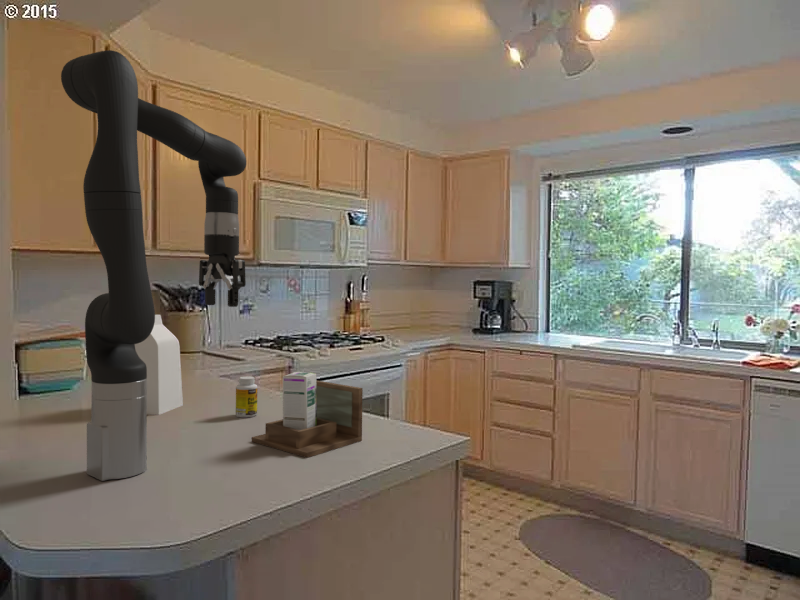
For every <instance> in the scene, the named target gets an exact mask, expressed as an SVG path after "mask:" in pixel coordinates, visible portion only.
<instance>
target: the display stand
mask: <svg viewBox="0 0 800 600" xmlns="http://www.w3.org/2000/svg"><path fill="white" fill-rule="evenodd" d="M363 393H364V392H363V387H358V386H353V385H346V384H340V383H333V382H328V381H322V380H317V379H316V394H317V426H314V427H310V428H306V429H303V430H297V429H293V428H289V427H285V426H283V418H282V419H280V420H275V421H271V422H265V428H264V429H265V430H264V431H265V433H264V434H260V435H254V436H252V437H251V442H252V443H255V444H258V445H262V446H265V447H269V448H273V449H276V450H280V451H283V452H286V453H290V454H293V455H296V456H301V457H304V458H307V459H308V458H311V457H315V456H318V455H321V454H323V453H327V452H331V451H333V450H336V449H340V448H342V447H346V446H350V445H353V444H355V443H359V442H362V441H363Z"/></svg>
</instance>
